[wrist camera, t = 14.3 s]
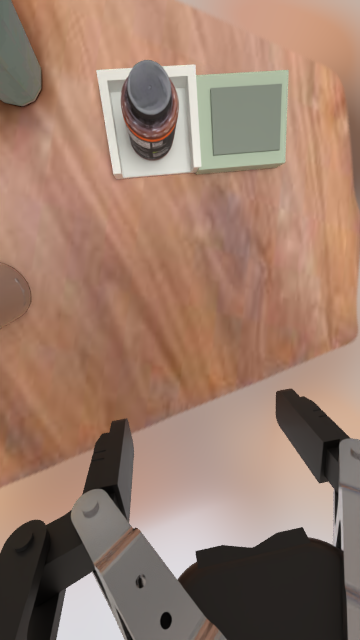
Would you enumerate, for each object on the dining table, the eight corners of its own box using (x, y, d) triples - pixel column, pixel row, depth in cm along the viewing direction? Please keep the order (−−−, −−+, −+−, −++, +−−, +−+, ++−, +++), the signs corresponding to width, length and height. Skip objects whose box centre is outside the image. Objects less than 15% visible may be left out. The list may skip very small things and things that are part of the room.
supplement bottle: (150, 97, 31) (149, 24, 21) (182, 138, 33) (196, 90, 22) (118, 134, 32) (101, 82, 22) (151, 172, 34) (150, 141, 23)
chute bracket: (116, 179, 34) (113, 173, 31) (101, 85, 31) (96, 70, 28) (197, 172, 35) (201, 166, 32) (191, 80, 32) (195, 64, 29)
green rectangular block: (195, 174, 35) (199, 169, 32) (190, 87, 32) (193, 73, 29) (276, 167, 36) (286, 161, 33) (278, 82, 33) (290, 67, 30)
